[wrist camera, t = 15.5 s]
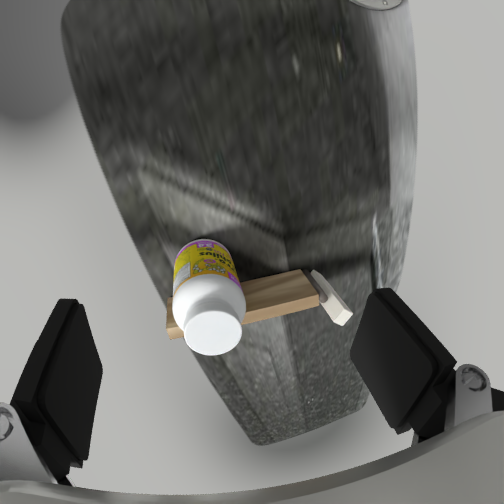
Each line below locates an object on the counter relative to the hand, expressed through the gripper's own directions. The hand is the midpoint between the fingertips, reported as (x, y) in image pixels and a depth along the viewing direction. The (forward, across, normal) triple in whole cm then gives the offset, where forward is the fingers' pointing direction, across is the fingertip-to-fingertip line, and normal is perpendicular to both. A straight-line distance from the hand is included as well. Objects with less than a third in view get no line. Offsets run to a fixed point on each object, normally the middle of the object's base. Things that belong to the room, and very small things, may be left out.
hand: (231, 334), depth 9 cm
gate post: (+24, -14, +13) cm, 31 cm away
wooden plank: (+24, -5, +14) cm, 28 cm away
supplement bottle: (+24, 0, +10) cm, 26 cm away
